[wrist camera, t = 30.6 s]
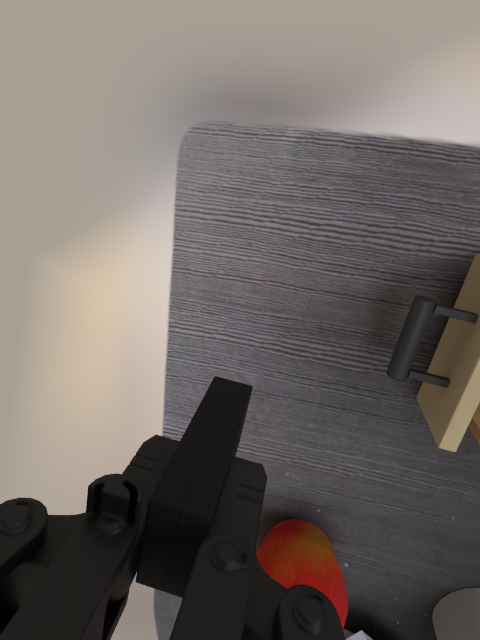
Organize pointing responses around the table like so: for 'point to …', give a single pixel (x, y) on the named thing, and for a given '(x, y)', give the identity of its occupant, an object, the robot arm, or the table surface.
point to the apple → (304, 561)
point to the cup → (458, 615)
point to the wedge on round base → (356, 635)
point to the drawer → (446, 363)
